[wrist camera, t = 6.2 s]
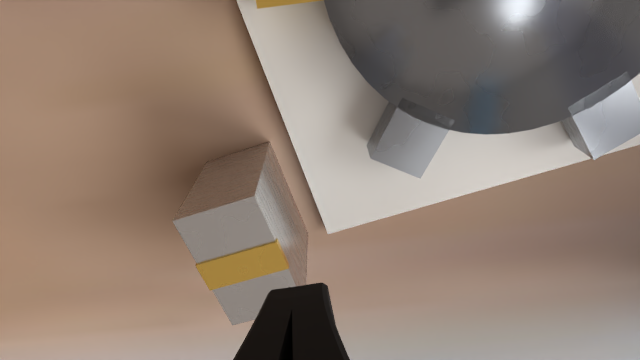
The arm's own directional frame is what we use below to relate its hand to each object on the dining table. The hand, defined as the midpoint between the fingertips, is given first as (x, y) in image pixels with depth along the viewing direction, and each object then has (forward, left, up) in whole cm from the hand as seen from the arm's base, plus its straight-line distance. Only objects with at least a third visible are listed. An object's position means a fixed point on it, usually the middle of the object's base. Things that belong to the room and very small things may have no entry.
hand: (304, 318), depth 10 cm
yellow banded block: (-1, +3, -10) cm, 10 cm away
